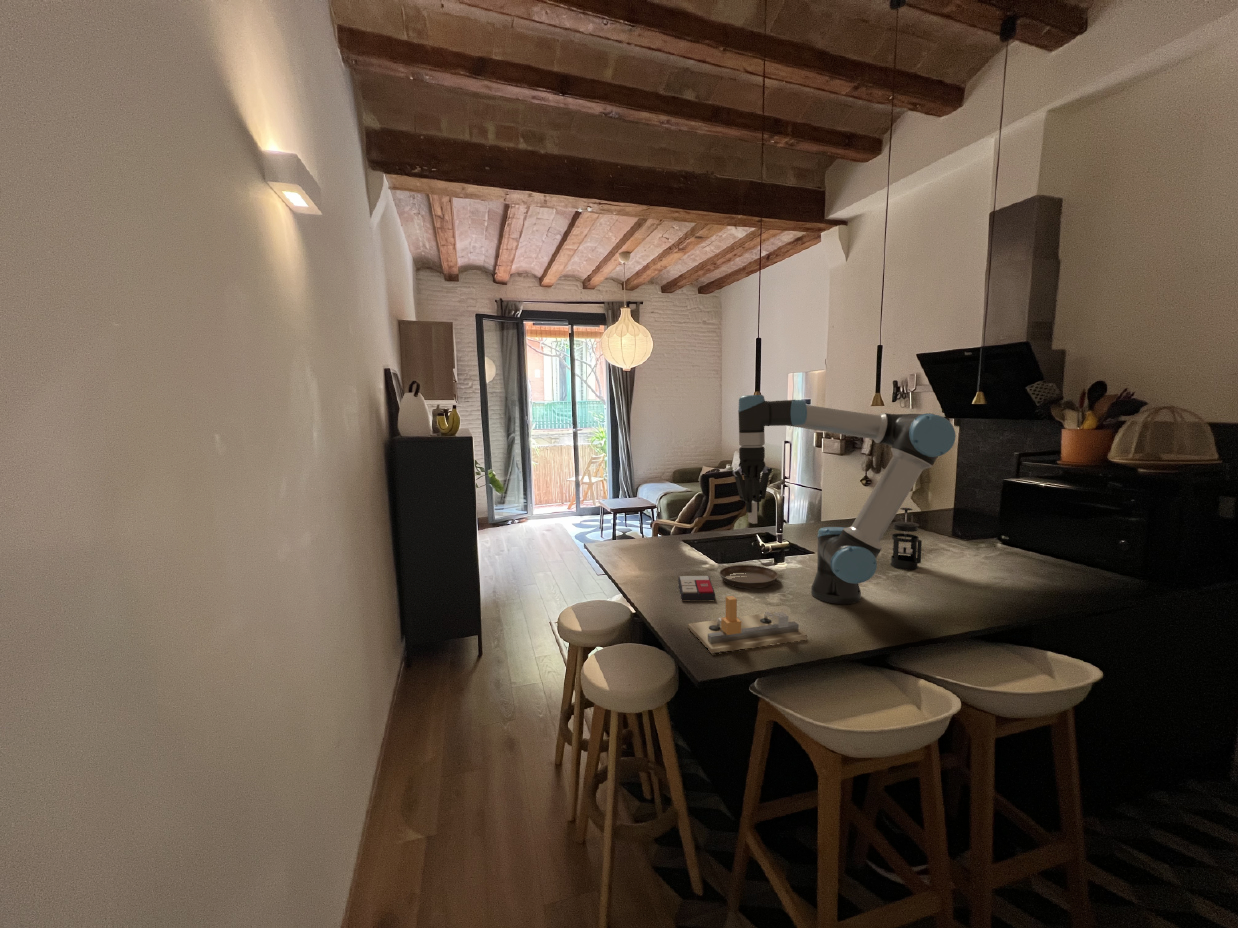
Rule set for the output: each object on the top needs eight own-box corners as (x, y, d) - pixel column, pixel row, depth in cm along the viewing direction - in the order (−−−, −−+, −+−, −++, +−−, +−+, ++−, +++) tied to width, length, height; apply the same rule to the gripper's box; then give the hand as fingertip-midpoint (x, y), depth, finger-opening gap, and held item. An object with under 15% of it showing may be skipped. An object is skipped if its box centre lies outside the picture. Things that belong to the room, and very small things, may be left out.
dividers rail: (780, 618, 146) (780, 601, 146) (799, 632, 137) (799, 614, 137) (697, 629, 140) (697, 612, 140) (711, 645, 131) (711, 626, 130)
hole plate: (774, 616, 151) (775, 611, 151) (807, 640, 136) (807, 634, 135) (687, 628, 144) (687, 623, 144) (711, 654, 129) (711, 648, 129)
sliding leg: (724, 623, 142) (724, 586, 141) (741, 638, 133) (741, 599, 131) (711, 625, 141) (711, 588, 140) (727, 640, 132) (727, 601, 130)
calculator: (681, 591, 165) (678, 574, 180) (681, 604, 165) (678, 585, 180) (715, 591, 164) (709, 574, 179) (715, 603, 165) (709, 585, 180)
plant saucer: (708, 576, 189) (708, 568, 189) (754, 569, 196) (755, 561, 196) (740, 595, 170) (740, 585, 169) (790, 586, 177) (790, 577, 177)
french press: (883, 563, 199) (885, 506, 196) (901, 560, 202) (903, 504, 199) (909, 572, 188) (912, 512, 185) (927, 569, 191) (930, 509, 188)
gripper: (763, 444, 158) (764, 518, 160) (726, 446, 154) (727, 522, 156) (777, 445, 151) (778, 522, 153) (739, 448, 147) (740, 527, 149)
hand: (752, 522), depth 155 cm, fingers closed
